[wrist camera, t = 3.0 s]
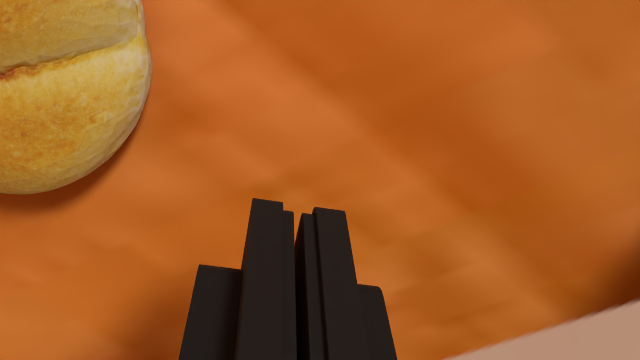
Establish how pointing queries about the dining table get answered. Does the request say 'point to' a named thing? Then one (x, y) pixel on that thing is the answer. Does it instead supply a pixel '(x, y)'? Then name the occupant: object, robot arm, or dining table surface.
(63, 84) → the bread roll
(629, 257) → the dining table surface
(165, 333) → the dining table surface
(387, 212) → the dining table surface
